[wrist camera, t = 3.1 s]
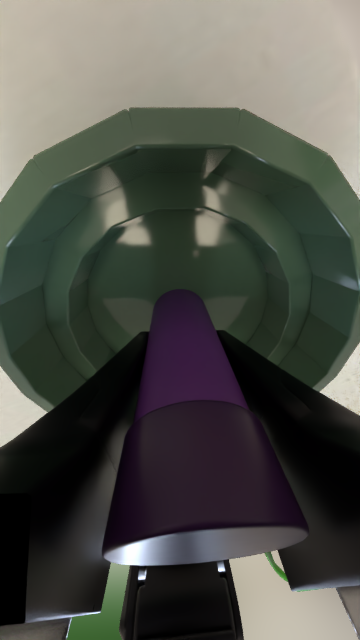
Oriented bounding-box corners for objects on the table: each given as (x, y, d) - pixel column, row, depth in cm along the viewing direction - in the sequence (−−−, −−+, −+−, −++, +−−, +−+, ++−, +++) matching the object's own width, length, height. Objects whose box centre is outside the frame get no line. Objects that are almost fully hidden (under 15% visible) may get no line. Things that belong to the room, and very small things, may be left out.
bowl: (288, 354, 14) (341, 414, 10) (132, 397, 16) (119, 464, 11) (286, 109, 7) (488, -82, 2) (1, 238, 9) (-168, 257, 4)
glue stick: (214, 327, 11) (306, 548, 4) (163, 343, 12) (153, 570, 4) (199, 277, 10) (322, 509, 2) (140, 298, 10) (46, 555, 2)
